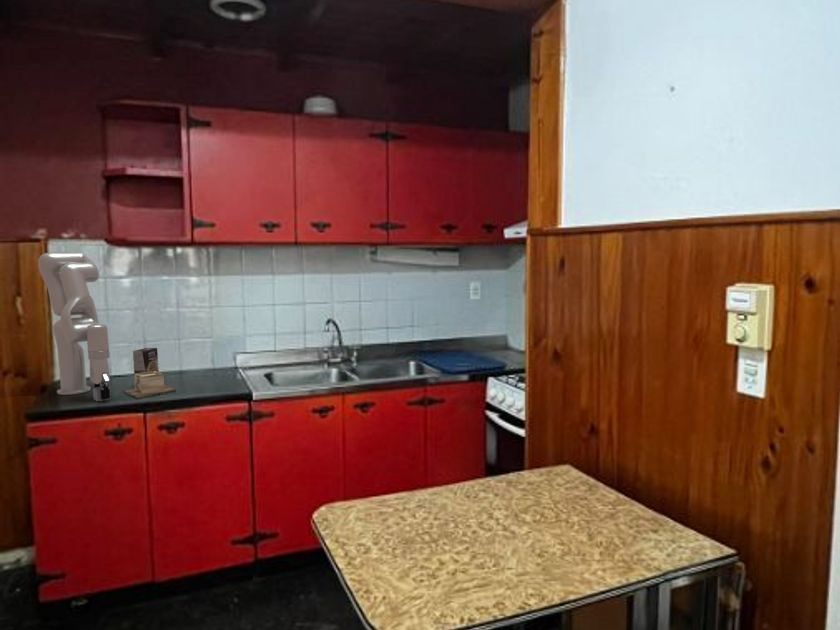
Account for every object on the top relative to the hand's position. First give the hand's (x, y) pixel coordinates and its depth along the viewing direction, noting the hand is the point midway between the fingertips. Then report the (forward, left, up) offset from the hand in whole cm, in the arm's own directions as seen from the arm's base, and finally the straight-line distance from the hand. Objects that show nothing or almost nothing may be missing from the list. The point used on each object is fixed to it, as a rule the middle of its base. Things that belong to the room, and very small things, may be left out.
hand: (102, 397), depth 245 cm
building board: (+2, +18, -1) cm, 18 cm away
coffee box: (-14, +23, -1) cm, 27 cm away
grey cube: (0, 0, -1) cm, 1 cm away
